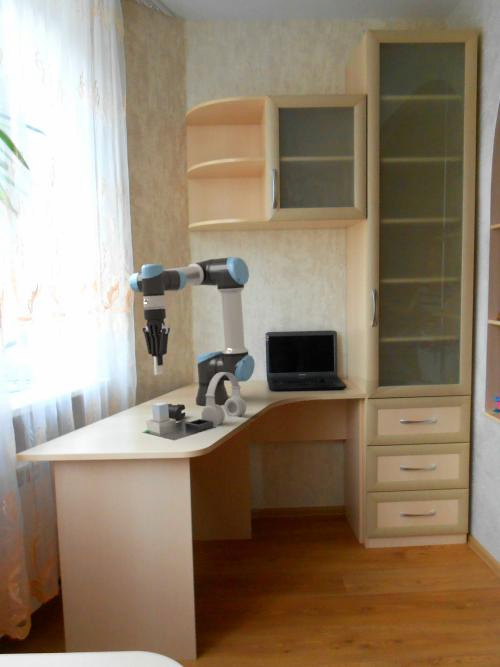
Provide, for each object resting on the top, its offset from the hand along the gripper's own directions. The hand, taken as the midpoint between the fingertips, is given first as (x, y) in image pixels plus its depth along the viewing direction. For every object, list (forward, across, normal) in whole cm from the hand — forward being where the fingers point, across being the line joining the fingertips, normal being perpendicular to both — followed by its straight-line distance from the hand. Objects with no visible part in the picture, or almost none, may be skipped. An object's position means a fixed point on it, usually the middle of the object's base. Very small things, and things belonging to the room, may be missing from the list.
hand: (158, 374), depth 184 cm
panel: (+22, +4, +5) cm, 23 cm away
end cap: (+22, -12, +14) cm, 29 cm away
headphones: (+22, +7, +25) cm, 34 cm away
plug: (+21, 0, 0) cm, 21 cm away
